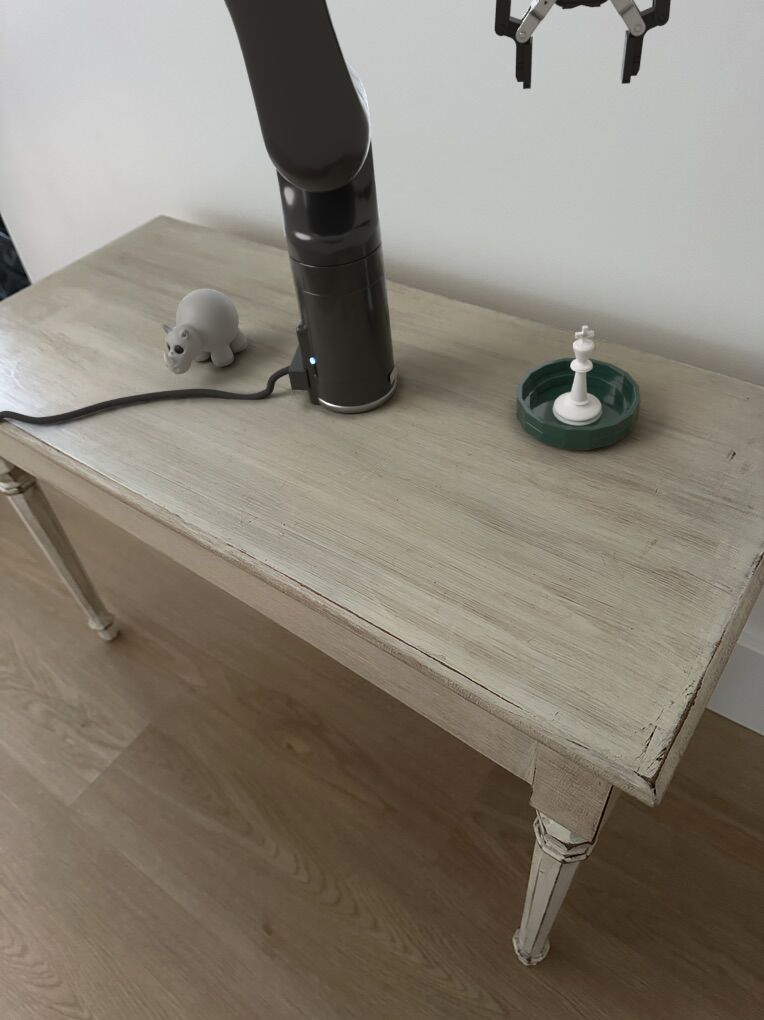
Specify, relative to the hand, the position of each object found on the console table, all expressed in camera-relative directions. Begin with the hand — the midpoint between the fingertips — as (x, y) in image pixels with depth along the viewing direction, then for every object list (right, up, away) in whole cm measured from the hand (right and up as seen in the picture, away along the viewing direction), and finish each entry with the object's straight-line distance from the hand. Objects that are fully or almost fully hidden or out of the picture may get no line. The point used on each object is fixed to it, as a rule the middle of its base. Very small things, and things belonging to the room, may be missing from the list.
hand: (575, 83), depth 71 cm
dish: (+3, -28, +11) cm, 31 cm away
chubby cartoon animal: (-38, -21, +24) cm, 50 cm away
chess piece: (+3, -28, +11) cm, 30 cm away
